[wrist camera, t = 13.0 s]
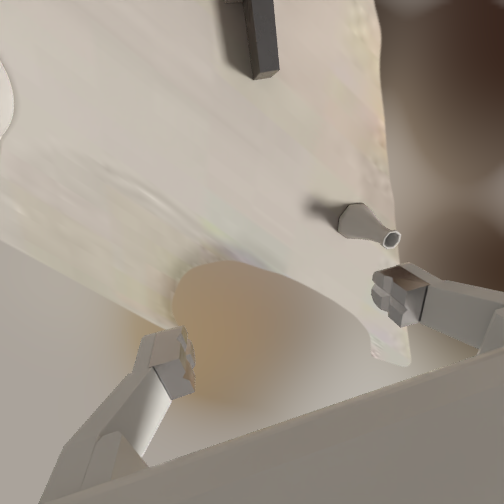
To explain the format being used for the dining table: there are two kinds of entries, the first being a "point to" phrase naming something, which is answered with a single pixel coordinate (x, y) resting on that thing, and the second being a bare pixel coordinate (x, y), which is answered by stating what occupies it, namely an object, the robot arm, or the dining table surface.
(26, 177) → the dining table surface
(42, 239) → the dining table surface
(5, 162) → the dining table surface
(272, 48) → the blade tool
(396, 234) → the flask
